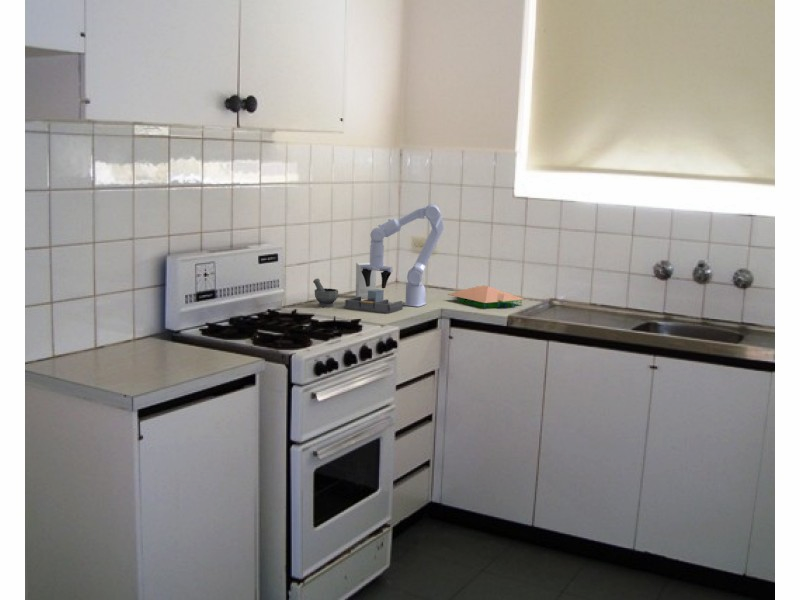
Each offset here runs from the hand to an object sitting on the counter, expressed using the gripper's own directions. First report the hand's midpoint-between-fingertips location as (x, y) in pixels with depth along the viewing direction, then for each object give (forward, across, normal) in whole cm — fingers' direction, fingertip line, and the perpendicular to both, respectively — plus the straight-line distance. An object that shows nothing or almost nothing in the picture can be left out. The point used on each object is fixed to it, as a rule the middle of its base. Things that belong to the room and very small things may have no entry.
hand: (375, 287), depth 363 cm
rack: (+7, +6, -12) cm, 15 cm away
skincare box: (+7, -12, +13) cm, 19 cm away
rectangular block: (+7, 0, 0) cm, 7 cm away
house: (+8, +38, +33) cm, 50 cm away
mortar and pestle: (+8, -14, -19) cm, 25 cm away
